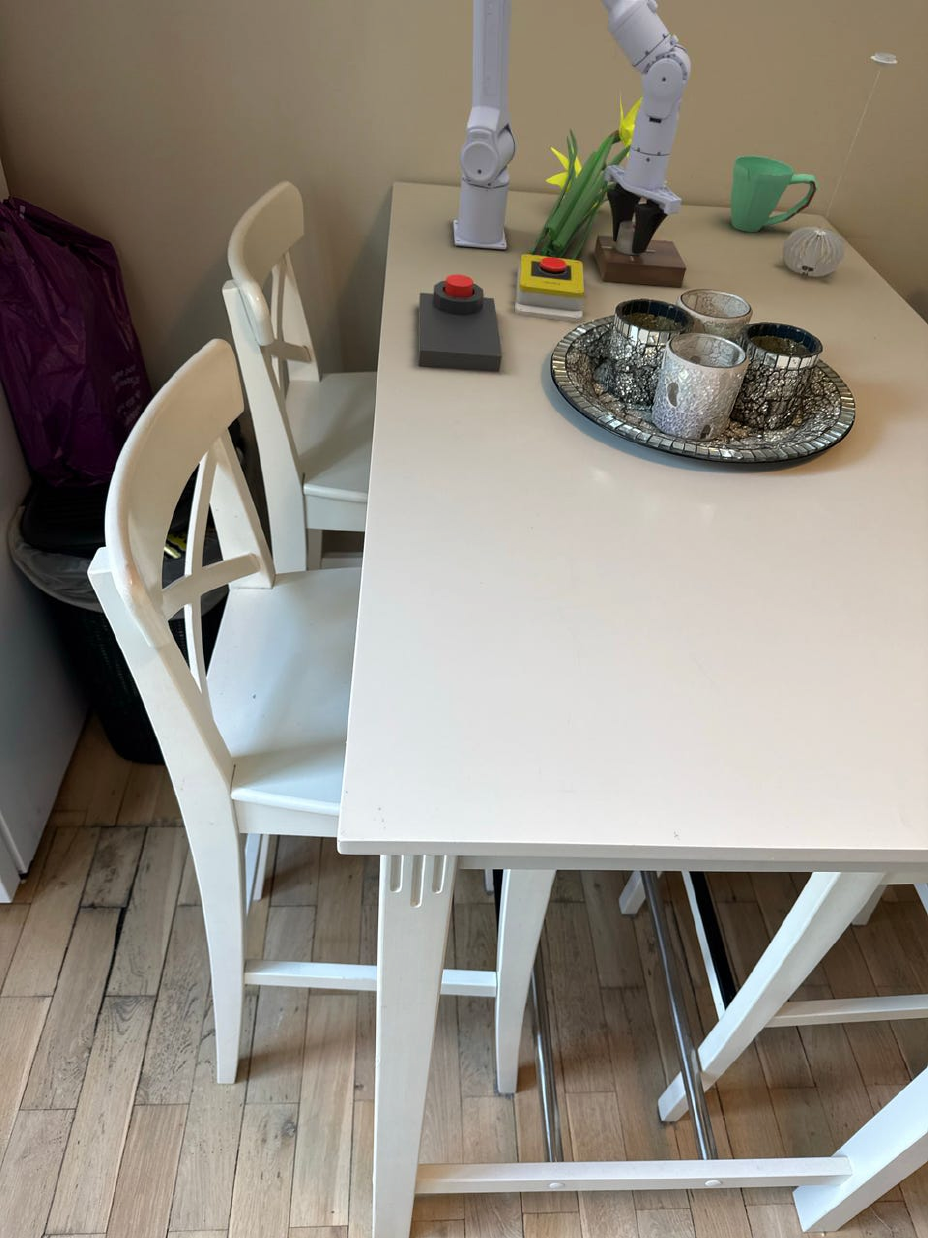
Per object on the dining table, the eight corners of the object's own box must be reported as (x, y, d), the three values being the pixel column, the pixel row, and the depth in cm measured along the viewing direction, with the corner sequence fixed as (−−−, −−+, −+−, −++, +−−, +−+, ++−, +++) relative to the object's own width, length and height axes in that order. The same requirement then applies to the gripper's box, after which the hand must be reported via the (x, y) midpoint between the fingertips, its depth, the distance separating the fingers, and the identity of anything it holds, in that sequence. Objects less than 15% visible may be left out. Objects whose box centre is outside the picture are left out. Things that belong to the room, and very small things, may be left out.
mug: (720, 232, 150) (738, 170, 143) (714, 212, 157) (731, 152, 151) (805, 244, 150) (828, 182, 143) (796, 223, 157) (817, 163, 150)
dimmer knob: (609, 246, 133) (615, 220, 131) (629, 242, 135) (635, 217, 133) (626, 256, 131) (632, 230, 128) (646, 252, 133) (652, 227, 130)
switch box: (418, 305, 120) (420, 276, 117) (491, 310, 121) (495, 282, 118) (418, 366, 108) (420, 335, 105) (499, 371, 109) (503, 341, 106)
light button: (444, 286, 117) (445, 273, 115) (471, 288, 117) (472, 275, 116) (445, 298, 114) (446, 284, 113) (472, 300, 114) (474, 287, 113)
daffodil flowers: (481, 250, 137) (557, 132, 154) (552, 312, 141) (618, 190, 158) (541, 176, 123) (617, 55, 140) (618, 247, 127) (683, 121, 144)
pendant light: (828, 262, 145) (910, 51, 125) (840, 285, 139) (928, 67, 118) (773, 255, 145) (844, 42, 125) (782, 278, 139) (859, 57, 118)
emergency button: (584, 248, 128) (588, 292, 118) (579, 278, 131) (581, 323, 121) (521, 240, 128) (519, 283, 117) (517, 270, 131) (514, 314, 120)
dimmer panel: (593, 254, 138) (597, 233, 136) (667, 260, 140) (673, 240, 137) (602, 281, 131) (606, 260, 129) (681, 287, 132) (686, 266, 130)
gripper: (706, 163, 121) (680, 261, 130) (639, 130, 129) (619, 225, 139) (668, 167, 118) (644, 268, 127) (601, 134, 126) (584, 230, 136)
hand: (629, 246), depth 133 cm, fingers closed on dimmer knob, 4 cm apart
